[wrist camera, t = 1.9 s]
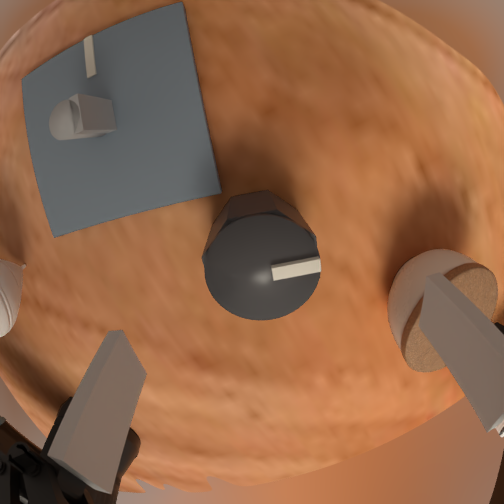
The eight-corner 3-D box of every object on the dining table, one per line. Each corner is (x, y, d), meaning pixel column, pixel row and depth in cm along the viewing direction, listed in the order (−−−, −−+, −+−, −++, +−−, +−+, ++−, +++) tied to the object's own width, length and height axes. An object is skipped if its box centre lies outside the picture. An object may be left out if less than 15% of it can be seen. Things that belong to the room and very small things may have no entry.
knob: (225, 279, 24) (220, 331, 17) (205, 202, 21) (189, 231, 15) (304, 264, 24) (325, 312, 17) (293, 185, 21) (316, 207, 14)
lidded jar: (355, 323, 26) (390, 391, 18) (392, 222, 22) (457, 269, 14) (429, 325, 27) (469, 378, 19) (466, 242, 23) (523, 283, 15)
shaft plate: (59, 234, 22) (22, 260, 16) (27, 79, 15) (-14, 76, 10) (222, 190, 21) (214, 210, 15) (184, 6, 15) (167, -29, 9)
